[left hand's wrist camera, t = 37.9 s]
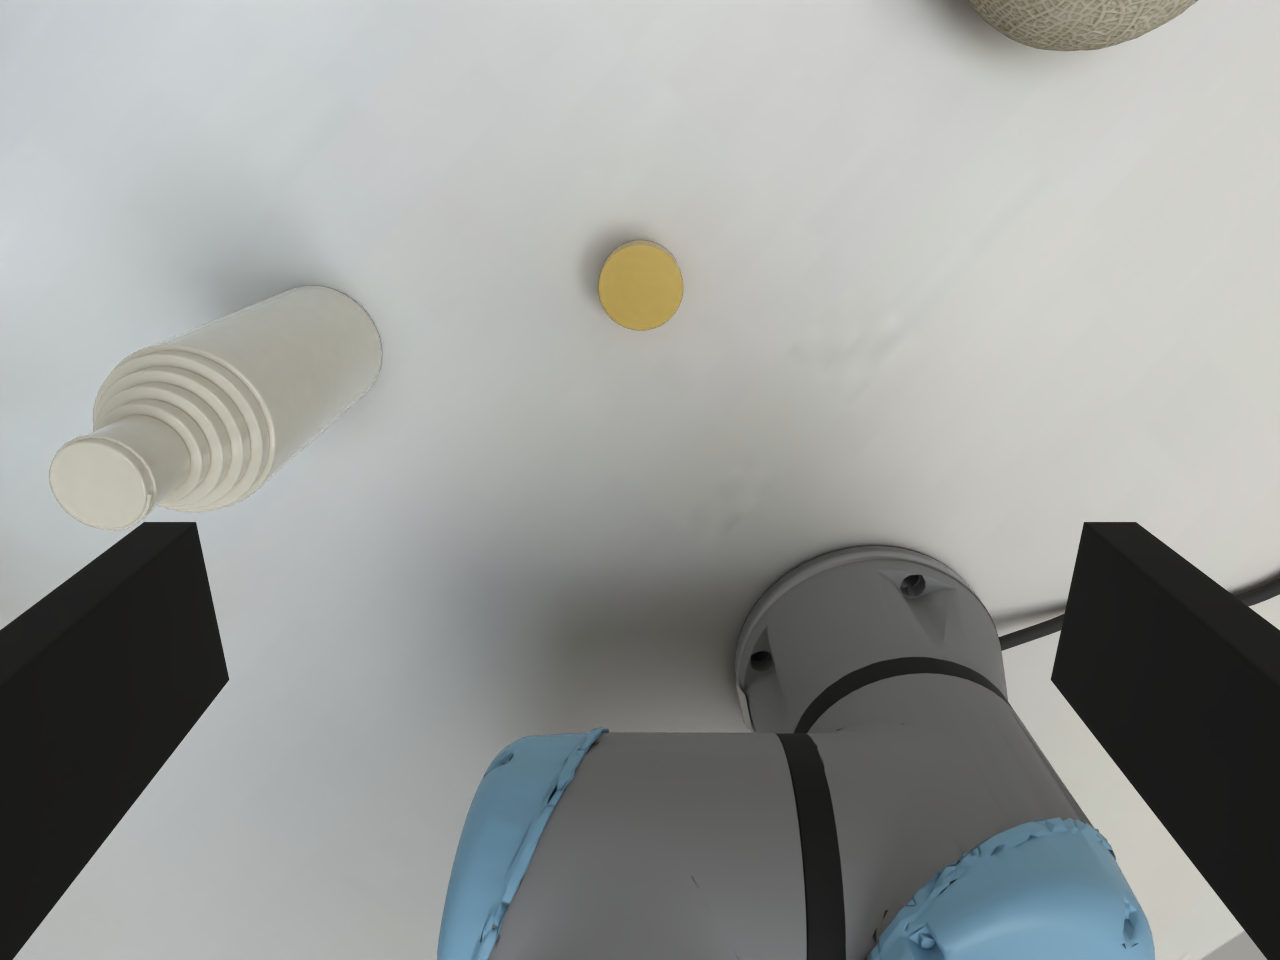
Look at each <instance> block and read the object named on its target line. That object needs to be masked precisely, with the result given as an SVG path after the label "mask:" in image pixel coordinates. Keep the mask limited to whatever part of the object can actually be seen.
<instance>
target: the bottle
mask: <svg viewBox="0 0 1280 960" xmlns="http://www.w3.org/2000/svg"><path fill="white" fill-rule="evenodd" d="M381 362H382V347H381V342H380V337H379V334H378V332H377V329H376V327H375V325H374V323H373V321H372V320H371V318H370V317H369V315H368V314H367V313H366V312H365V311H364V309H363V308H362V307H361V306H360V305H358V304H357V303H356V302H355V301H354V300H352V299H351V298H350V297H348V296H346V295H345V294H343V293H341V292H338V291H336V290H334V289H330V288H327V287H322V286H301V287H297V288H293V289H290V290H288V291H285V292H283V293H280V294H278V295H275V296H273V297H270V298H268V299H265V300H263V301H260V302H258V303H255V304H253V305H250V306H248V307H246V308H243V309H241V310H238V311H236V312H233V313H231V314H228V315H226V316H223V317H221V318H218V319H216V320H213V321H211V322H208V323H206V324H203V325H201V326H198V327H196V328H193V329H191V330H188V331H186V332H183V333H181V334H178V335H176V336H173V337H171V338H168V339H166V340H164V341H161V342H159V343H156V344H154V345H151V346H149V347H146V348H144V349H141V350H139V351H137V352H134V353H133V354H131V355H130V356H128V357H126V358H125V359H124V360H123V361H121V362H120V363H119V364H118V365H117V366H116V367H115V369H114V370H113V371H112V372H111V374H110V375H109V376H108V378H107V379H106V380H105V381H104V383H103V384H102V386H101V388H100V390H99V392H98V395H97V397H96V400H95V405H94V411H93V424H94V425H93V429H94V432H92V433H91V434H89V435H85V436H80V437H77V438H75V439H73V440H71V441H69V442H67V443H65V444H64V445H63V446H62V447H61V448H60V449H59V451H58V452H57V453H56V455H55V457H54V459H53V461H52V464H51V466H50V472H49V479H50V485H51V489H52V492H53V494H54V496H55V498H56V500H57V501H58V503H59V504H60V505H61V506H62V508H63V509H64V510H65V511H66V512H67V513H68V514H70V515H71V516H72V517H74V518H75V519H77V520H78V521H80V522H82V523H84V524H86V525H89V526H91V527H95V528H100V529H102V530H114V531H115V530H121V529H127V528H129V527H131V526H133V525H135V524H137V523H138V522H139V521H140V520H142V519H144V518H145V517H146V516H147V515H148V514H149V513H150V512H151V511H152V509H153V507H155V506H156V505H157V506H161V507H165V508H168V509H172V510H176V511H183V512H206V511H212V510H216V509H220V508H223V507H228V506H231V505H234V504H236V503H239V502H241V501H243V500H244V499H246V498H248V497H249V496H250V495H252V494H253V493H254V492H256V491H257V490H258V489H259V488H260V487H261V486H262V485H263V484H265V483H266V482H267V481H268V480H269V479H270V478H271V477H272V476H274V475H275V474H276V473H277V472H278V471H279V470H280V469H281V468H283V467H284V466H285V465H286V464H287V463H288V462H289V461H290V460H291V459H293V458H294V457H295V456H296V455H297V454H298V453H299V452H300V451H302V450H303V449H304V448H305V447H306V446H307V445H308V444H309V443H311V442H312V441H313V440H314V439H315V438H316V437H317V436H318V435H320V434H321V433H322V432H323V431H324V430H325V429H326V428H327V427H328V426H330V425H331V424H332V423H333V422H334V421H335V420H336V419H337V418H339V417H340V416H341V415H342V414H343V413H344V412H345V411H346V410H348V409H349V408H350V407H351V406H352V405H353V404H354V403H355V402H357V401H358V400H359V399H360V398H361V397H362V396H363V395H364V394H366V392H367V391H368V390H369V389H370V388H371V387H372V385H373V384H374V382H375V381H376V379H377V377H378V374H379V371H380V368H381Z"/></svg>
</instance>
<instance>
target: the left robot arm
mask: <svg viewBox="0 0 1280 960" xmlns="http://www.w3.org/2000/svg"><path fill="white" fill-rule="evenodd" d="M1279 594H1280V578H1279V579H1277V580H1275V581H1273V582H1271V583H1269V584H1267V585H1265V586H1263V587H1260V588H1258V589H1255V590H1253V591H1250V592H1247V593H1244V594H1241V595H1238V596H1233V595H1232V594H1231V593H1229V592H1228V591H1227V590H1225V589H1224V588H1223V587H1221V586H1220V585H1219V584H1217V583H1216V582H1215V581H1213V580H1212V579H1211V578H1209V577H1208V576H1207V575H1205V574H1204V573H1203V572H1201V571H1200V570H1199V569H1197V568H1196V567H1195V566H1193V565H1192V564H1191V563H1189V562H1188V561H1187V560H1185V559H1184V558H1183V557H1181V556H1180V555H1179V554H1177V553H1176V552H1175V551H1173V550H1172V549H1171V548H1170V547H1168V546H1167V545H1166V544H1164V543H1163V542H1162V541H1160V540H1159V539H1158V538H1156V537H1155V536H1154V535H1152V534H1151V533H1150V532H1148V531H1147V530H1146V529H1144V528H1143V527H1142V526H1140V525H1139V524H1138V523H1136V522H1084V525H1083V530H1082V534H1081V539H1080V544H1079V549H1078V553H1077V558H1076V563H1075V568H1074V572H1073V577H1072V582H1071V587H1070V591H1069V596H1068V601H1067V605H1066V610H1065V614H1063V615H1060V616H1058V617H1056V618H1053V619H1051V620H1048V621H1045V622H1042V623H1039V624H1037V625H1034V626H1031V627H1028V628H1025V629H1022V630H1019V631H1016V632H1013V633H1010V634H1007V635H1004V636H1001V637H998V634H997V631H996V627H995V625H994V623H993V620H992V618H991V616H990V614H989V613H988V611H987V609H986V608H985V606H984V605H983V604H982V602H981V601H980V600H979V598H978V597H977V596H976V594H975V593H974V592H973V590H972V589H971V588H970V587H969V585H968V584H967V583H966V582H965V581H964V580H963V579H962V578H961V577H960V576H959V575H958V574H956V573H955V572H954V571H953V570H952V569H950V568H949V567H947V566H945V565H944V564H942V563H941V562H939V561H937V560H935V559H933V558H931V557H929V556H926V555H923V554H921V553H918V552H914V551H911V550H907V549H902V548H897V547H888V546H862V547H853V548H847V549H842V550H838V551H834V552H830V553H827V554H824V555H822V556H819V557H816V558H814V559H812V560H810V561H808V562H805V563H803V564H802V565H800V566H798V567H796V568H795V569H793V570H792V571H790V572H789V573H787V574H786V575H784V576H783V577H782V578H780V579H779V580H778V581H777V582H776V583H775V584H773V585H772V586H771V587H770V588H769V589H768V590H767V591H766V592H765V593H764V594H763V596H762V597H761V598H760V599H759V601H758V602H757V603H756V604H755V606H754V607H753V609H752V610H751V612H750V614H749V615H748V617H747V619H746V621H745V623H744V625H743V628H742V631H741V633H740V636H739V640H738V643H737V649H736V655H735V673H736V681H737V684H736V687H737V692H738V697H739V701H740V706H741V711H742V716H743V720H744V724H745V725H746V726H747V728H748V729H749V730H750V732H751V733H610V731H609V729H606V728H596V729H593V730H592V731H591V732H589V733H575V734H556V735H537V736H529V737H524V738H521V739H519V740H517V741H515V742H513V743H511V744H510V745H508V746H507V747H506V748H504V749H503V750H502V751H501V752H500V753H499V754H498V755H497V756H496V758H495V759H494V760H493V762H492V763H491V764H490V766H489V768H488V769H487V771H486V773H485V775H484V777H483V779H482V781H481V782H480V784H479V787H478V789H477V792H476V794H475V796H474V799H473V801H472V804H471V807H470V809H469V812H468V815H467V818H466V821H465V824H464V827H463V831H462V834H461V837H460V841H459V845H458V848H457V852H456V856H455V860H454V864H453V868H452V872H451V877H450V881H449V885H448V890H447V895H446V901H445V906H444V911H443V916H442V922H441V929H440V935H439V943H438V951H437V960H1155V950H1154V943H1153V938H1152V933H1151V930H1150V926H1149V923H1148V921H1147V918H1146V916H1145V914H1144V912H1143V910H1142V908H1141V906H1140V904H1139V903H1138V901H1137V899H1136V897H1135V895H1134V893H1133V892H1132V890H1131V888H1130V886H1129V884H1128V882H1127V881H1126V879H1125V877H1124V875H1123V873H1122V871H1121V870H1120V868H1119V866H1118V864H1117V862H1116V857H1115V854H1114V852H1113V850H1112V848H1111V845H1110V844H1109V843H1108V841H1107V839H1106V838H1105V837H1104V836H1103V835H1101V834H1100V833H1099V831H1098V829H1094V827H1093V826H1092V824H1091V823H1090V821H1089V820H1088V818H1087V817H1086V815H1085V814H1084V813H1083V811H1082V810H1081V808H1080V807H1079V805H1078V804H1077V802H1076V801H1075V799H1074V798H1073V797H1072V795H1071V794H1070V792H1069V791H1068V789H1067V788H1066V786H1065V785H1064V783H1063V782H1062V781H1061V779H1060V778H1059V776H1058V775H1057V773H1056V772H1055V770H1054V769H1053V767H1052V766H1051V764H1050V763H1049V761H1048V760H1047V758H1046V757H1045V755H1044V754H1043V753H1042V751H1041V750H1040V748H1039V747H1038V745H1037V744H1036V742H1035V741H1034V739H1033V738H1032V736H1031V735H1030V733H1029V732H1028V730H1027V729H1026V727H1025V726H1024V724H1023V723H1022V721H1021V720H1020V718H1019V717H1018V716H1017V714H1016V713H1015V711H1014V710H1013V708H1012V707H1011V705H1010V704H1009V702H1008V697H1007V690H1006V682H1005V674H1004V666H1003V659H1002V652H1001V651H1002V650H1005V649H1008V648H1011V647H1014V646H1017V645H1020V644H1023V643H1026V642H1029V641H1032V640H1035V639H1038V638H1041V637H1043V636H1046V635H1049V634H1052V633H1055V632H1057V631H1060V630H1061V634H1060V639H1059V643H1058V648H1057V653H1056V658H1055V662H1054V667H1053V672H1052V676H1051V681H1052V682H1053V683H1054V684H1055V686H1056V687H1057V688H1058V690H1059V691H1060V692H1061V693H1062V695H1063V696H1064V697H1065V699H1066V700H1067V701H1068V703H1069V704H1070V705H1071V706H1072V708H1073V709H1074V710H1075V712H1076V713H1077V714H1078V715H1079V717H1080V718H1081V719H1082V721H1083V722H1084V723H1085V724H1086V726H1087V727H1088V728H1089V730H1090V731H1091V732H1092V734H1093V735H1094V736H1095V737H1096V739H1097V740H1098V741H1099V743H1100V744H1101V745H1102V746H1103V748H1104V749H1105V750H1106V752H1107V753H1108V754H1109V756H1110V757H1111V758H1112V759H1113V761H1114V762H1115V763H1116V765H1117V766H1118V767H1119V768H1120V770H1121V771H1122V772H1123V774H1124V775H1125V776H1126V777H1127V779H1128V780H1129V781H1130V783H1131V784H1132V785H1133V787H1134V788H1135V789H1136V790H1137V792H1138V793H1139V794H1140V796H1141V797H1142V798H1143V799H1144V801H1145V802H1146V803H1147V805H1148V806H1149V807H1150V808H1151V810H1152V811H1153V812H1154V814H1155V815H1156V816H1157V818H1158V819H1159V820H1160V821H1161V823H1162V824H1163V825H1164V827H1165V828H1166V829H1167V830H1168V832H1169V833H1170V834H1171V836H1172V837H1173V838H1174V840H1175V841H1176V842H1177V843H1178V845H1179V846H1180V847H1181V849H1182V850H1183V851H1184V852H1185V854H1186V855H1187V856H1188V858H1189V859H1190V860H1191V861H1192V863H1193V864H1194V865H1195V867H1196V868H1197V869H1198V871H1199V872H1200V873H1201V874H1202V876H1203V877H1204V878H1205V880H1206V881H1207V882H1208V883H1209V885H1210V886H1211V887H1212V889H1213V890H1214V891H1215V892H1216V894H1217V895H1218V896H1219V898H1220V899H1221V900H1222V902H1223V903H1224V904H1225V905H1226V907H1227V908H1228V909H1229V911H1230V912H1231V913H1232V914H1233V916H1234V917H1235V918H1236V920H1237V921H1238V922H1239V924H1240V925H1241V926H1242V927H1243V929H1244V930H1245V931H1246V933H1247V934H1248V935H1249V936H1250V938H1251V939H1252V940H1253V942H1254V943H1255V944H1256V945H1257V947H1258V948H1259V949H1260V951H1261V952H1262V953H1263V955H1264V956H1265V957H1266V958H1267V960H1280V630H1278V629H1277V628H1276V627H1274V626H1273V625H1272V624H1270V623H1269V622H1268V621H1266V620H1265V619H1264V618H1262V617H1261V616H1260V615H1258V614H1257V613H1256V612H1254V611H1253V610H1252V609H1251V608H1249V607H1248V606H1251V605H1255V604H1257V603H1260V602H1263V601H1265V600H1268V599H1270V598H1272V597H1275V596H1277V595H1279ZM228 681H229V676H228V672H227V667H226V662H225V658H224V653H223V648H222V643H221V639H220V634H219V629H218V624H217V620H216V615H215V610H214V605H213V601H212V596H211V591H210V587H209V582H208V577H207V572H206V568H205V563H204V558H203V553H202V549H201V544H200V539H199V535H198V530H197V525H196V522H144V523H142V524H141V525H140V526H138V527H137V528H136V529H134V530H133V531H132V532H130V533H129V534H128V535H126V536H125V537H124V538H122V539H121V540H120V541H118V542H117V543H116V544H114V545H113V546H112V547H110V548H109V549H108V550H107V551H105V552H104V553H103V554H101V555H100V556H99V557H97V558H96V559H95V560H93V561H92V562H91V563H89V564H88V565H87V566H85V567H84V568H83V569H81V570H80V571H79V572H77V573H76V574H75V575H73V576H72V577H71V578H69V579H68V580H67V581H65V582H64V583H63V584H61V585H60V586H59V587H57V588H56V589H55V590H53V591H52V592H51V593H49V594H48V595H47V596H45V597H44V598H43V599H41V600H40V601H39V602H37V603H36V604H35V605H33V606H32V607H31V608H29V609H28V610H27V611H26V612H24V613H23V614H22V615H20V616H19V617H18V618H16V619H15V620H14V621H12V622H11V623H10V624H8V625H7V626H6V627H4V628H3V629H2V630H0V960H13V958H14V957H15V956H16V955H17V953H18V952H19V951H20V949H21V948H22V947H23V945H24V944H25V943H26V942H27V940H28V939H29V938H30V936H31V935H32V934H33V933H34V931H35V930H36V929H37V927H38V926H39V925H40V924H41V922H42V921H43V920H44V918H45V917H46V916H47V914H48V913H49V912H50V911H51V909H52V908H53V907H54V905H55V904H56V903H57V902H58V900H59V899H60V898H61V896H62V895H63V894H64V892H65V891H66V890H67V889H68V887H69V886H70V885H71V883H72V882H73V881H74V880H75V878H76V877H77V876H78V874H79V873H80V872H81V871H82V869H83V868H84V867H85V865H86V864H87V863H88V861H89V860H90V859H91V858H92V856H93V855H94V854H95V852H96V851H97V850H98V849H99V847H100V846H101V845H102V843H103V842H104V841H105V840H106V838H107V837H108V836H109V834H110V833H111V832H112V830H113V829H114V828H115V827H116V825H117V824H118V823H119V821H120V820H121V819H122V818H123V816H124V815H125V814H126V812H127V811H128V810H129V808H130V807H131V806H132V805H133V803H134V802H135V801H136V799H137V798H138V797H139V796H140V794H141V793H142V792H143V790H144V789H145V788H146V787H147V785H148V784H149V783H150V781H151V780H152V779H153V777H154V776H155V775H156V774H157V772H158V771H159V770H160V768H161V767H162V766H163V765H164V763H165V762H166V761H167V759H168V758H169V757H170V756H171V754H172V753H173V752H174V750H175V749H176V748H177V746H178V745H179V744H180V743H181V741H182V740H183V739H184V737H185V736H186V735H187V734H188V732H189V731H190V730H191V728H192V727H193V726H194V724H195V723H196V722H197V721H198V719H199V718H200V717H201V715H202V714H203V713H204V712H205V710H206V709H207V708H208V706H209V705H210V704H211V703H212V701H213V700H214V699H215V697H216V696H217V695H218V693H219V692H220V691H221V690H222V688H223V687H224V686H225V684H226V683H227V682H228ZM752 730H753V731H754V733H753V731H752Z"/></svg>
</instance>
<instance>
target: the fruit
mask: <svg viewBox="0 0 1280 960" xmlns="http://www.w3.org/2000/svg"><path fill="white" fill-rule="evenodd" d="M969 1H970V2H971V4H972V5H973V7H974V8H975V10H976V11H977V12H978V13H979V14H980V15H981V16H982V18H983V19H984V20H985V21H986V22H987V23H989V24H990V25H991V26H993V27H994V28H995V29H997V30H998V31H1000V32H1001V33H1003V34H1004V35H1006V36H1007V37H1009V38H1011V39H1012V40H1015V41H1017V42H1019V43H1022V44H1025V45H1028V46H1031V47H1034V48H1038V49H1045V50H1057V51H1076V50H1095V49H1101V48H1105V47H1109V46H1113V45H1117V44H1120V43H1122V42H1125V41H1129V40H1132V39H1135V38H1138V37H1140V36H1142V35H1143V34H1145V33H1147V32H1149V31H1151V30H1153V29H1155V28H1157V27H1159V26H1161V25H1163V24H1165V23H1167V22H1169V21H1170V20H1172V19H1173V18H1175V17H1177V16H1178V15H1180V14H1182V13H1183V12H1184V11H1185V10H1186V9H1187V8H1188V7H1190V6H1191V5H1193V4H1194V3H1195V2H1197V1H1198V0H969Z"/></svg>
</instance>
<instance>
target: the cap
mask: <svg viewBox="0 0 1280 960" xmlns="http://www.w3.org/2000/svg"><path fill="white" fill-rule="evenodd" d="M598 292H599V298H600V301H601V304H602V306H603V308H604V310H605V311H606V313H607V314H608V315H609V317H610V318H611V319H612V320H614V321H615V322H616V323H618V324H619V325H621V326H623V327H625V328H628V329H632V330H650V329H653V328H656V327H658V326H660V325H662V324H664V323H665V322H666V321H668V320H669V319H670V318H671V317H672V316H673V315H674V313H675V312H676V310H677V309H678V307H679V305H680V302H681V299H682V294H683V281H682V276H681V273H680V270H679V267H678V264H677V262H676V261H675V259H674V257H673V256H672V255H671V253H670V252H669V251H668V250H666V249H665V248H664V247H662V246H661V245H659V244H657V243H654V242H651V241H646V240H635V241H630V242H627V243H625V244H622V245H621V246H619V247H618V248H616V249H615V250H614V251H613V252H612V253H611V254H610V255H609V256H608V258H607V259H606V261H605V263H604V265H603V268H602V271H601V274H600V278H599V284H598Z"/></svg>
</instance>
